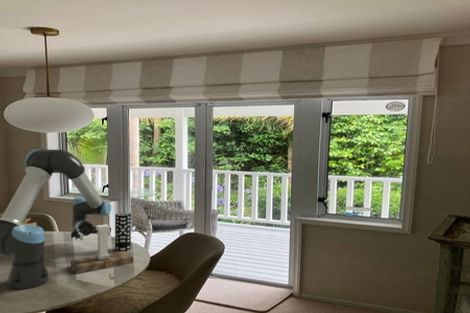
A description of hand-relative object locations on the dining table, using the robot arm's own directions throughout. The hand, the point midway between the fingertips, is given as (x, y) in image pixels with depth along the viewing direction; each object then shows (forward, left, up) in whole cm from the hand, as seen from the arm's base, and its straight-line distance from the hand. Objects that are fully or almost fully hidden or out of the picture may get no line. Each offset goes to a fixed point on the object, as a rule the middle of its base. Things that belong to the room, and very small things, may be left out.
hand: (96, 235), depth 177 cm
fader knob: (0, -10, -9) cm, 13 cm away
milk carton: (-26, +28, -12) cm, 40 cm away
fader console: (0, -10, -12) cm, 16 cm away
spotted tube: (+17, +8, -12) cm, 23 cm away
